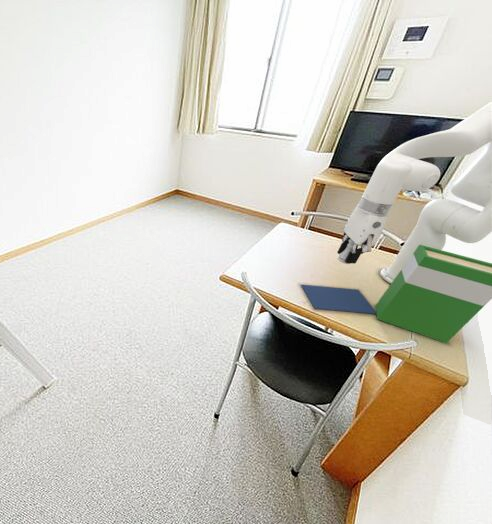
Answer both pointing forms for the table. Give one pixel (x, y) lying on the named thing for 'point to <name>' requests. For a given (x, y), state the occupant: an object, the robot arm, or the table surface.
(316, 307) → the cloth
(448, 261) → the hardback book
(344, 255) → the rook chess piece
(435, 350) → the table surface
